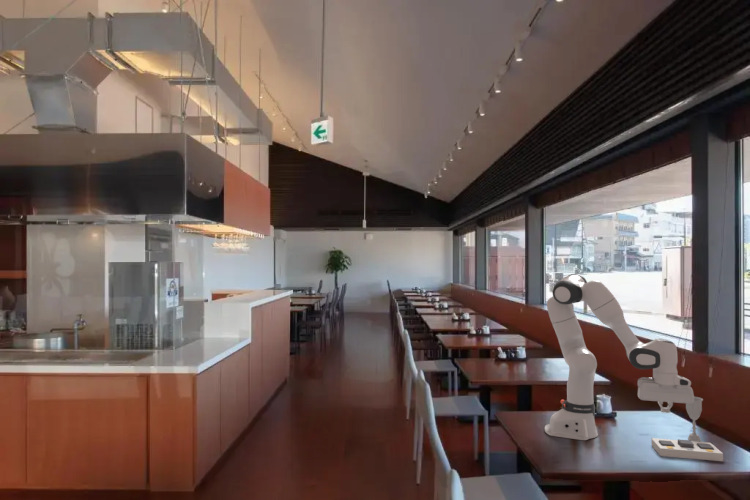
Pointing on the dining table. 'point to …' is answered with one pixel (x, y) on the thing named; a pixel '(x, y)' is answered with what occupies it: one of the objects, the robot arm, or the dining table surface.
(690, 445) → the button middle
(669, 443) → the button left
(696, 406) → the chalice
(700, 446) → the button right
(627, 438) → the dining table surface
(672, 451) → the panel
